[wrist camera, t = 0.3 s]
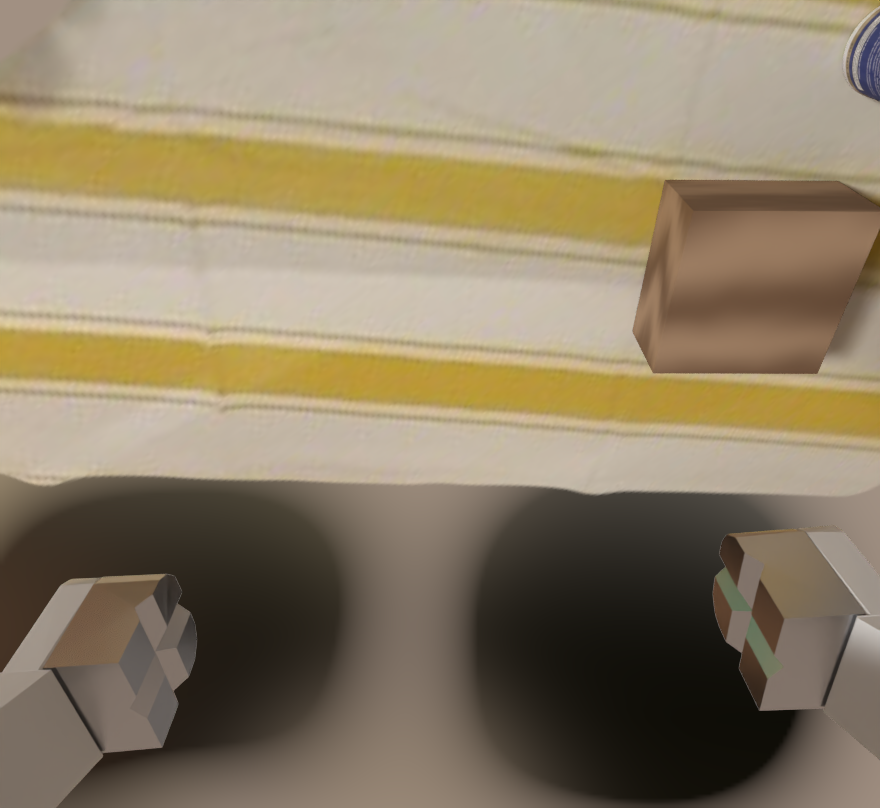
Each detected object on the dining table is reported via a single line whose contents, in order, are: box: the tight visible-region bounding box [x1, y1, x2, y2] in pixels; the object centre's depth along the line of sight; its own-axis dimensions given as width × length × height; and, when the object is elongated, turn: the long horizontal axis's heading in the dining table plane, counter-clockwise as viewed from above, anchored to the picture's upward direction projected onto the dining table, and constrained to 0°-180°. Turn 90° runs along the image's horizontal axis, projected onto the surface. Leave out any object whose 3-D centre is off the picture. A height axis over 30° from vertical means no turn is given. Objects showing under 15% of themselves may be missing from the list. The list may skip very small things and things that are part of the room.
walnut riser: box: [633, 180, 880, 374], centre depth 46 cm, size 12×12×6 cm
